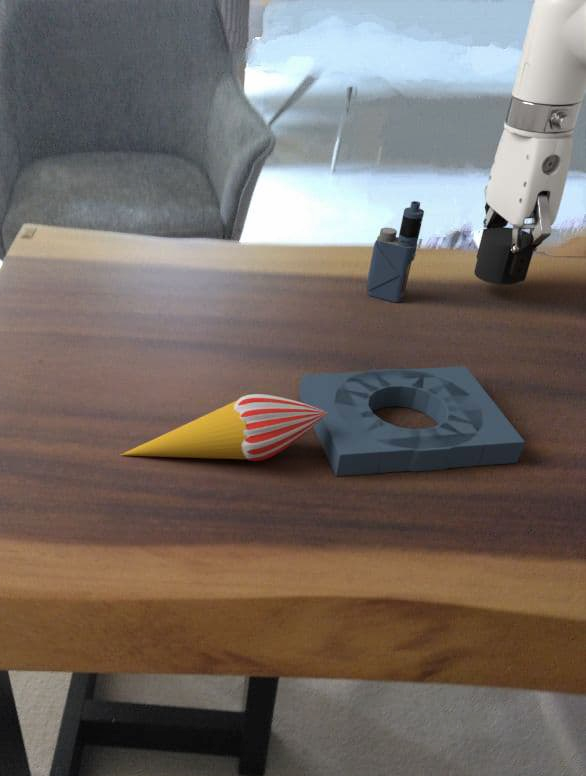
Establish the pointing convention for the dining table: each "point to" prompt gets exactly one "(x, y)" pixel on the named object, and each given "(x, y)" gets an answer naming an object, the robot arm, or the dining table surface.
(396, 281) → the vaping device
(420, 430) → the base pad
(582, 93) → the robot arm
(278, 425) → the ice cream cone
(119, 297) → the dining table surface
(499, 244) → the dark grey cylinder
